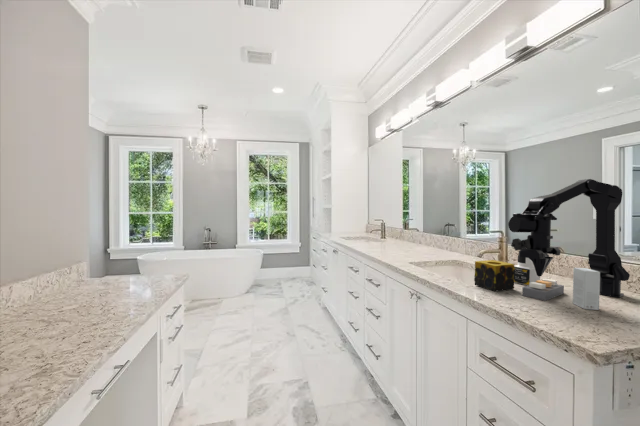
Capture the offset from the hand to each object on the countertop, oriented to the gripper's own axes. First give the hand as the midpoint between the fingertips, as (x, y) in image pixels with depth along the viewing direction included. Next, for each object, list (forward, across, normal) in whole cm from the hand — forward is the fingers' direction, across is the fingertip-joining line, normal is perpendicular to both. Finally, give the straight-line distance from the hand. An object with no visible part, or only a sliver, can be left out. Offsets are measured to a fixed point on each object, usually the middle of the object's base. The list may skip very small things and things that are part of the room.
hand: (539, 276), depth 107 cm
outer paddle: (+4, +2, 0) cm, 4 cm away
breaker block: (+7, -3, 0) cm, 8 cm away
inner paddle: (+4, -8, 0) cm, 9 cm away
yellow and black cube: (+8, +2, -15) cm, 17 cm away
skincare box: (+7, +1, +13) cm, 15 cm away
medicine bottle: (+7, -16, -11) cm, 21 cm away
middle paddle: (+4, -3, 0) cm, 5 cm away
